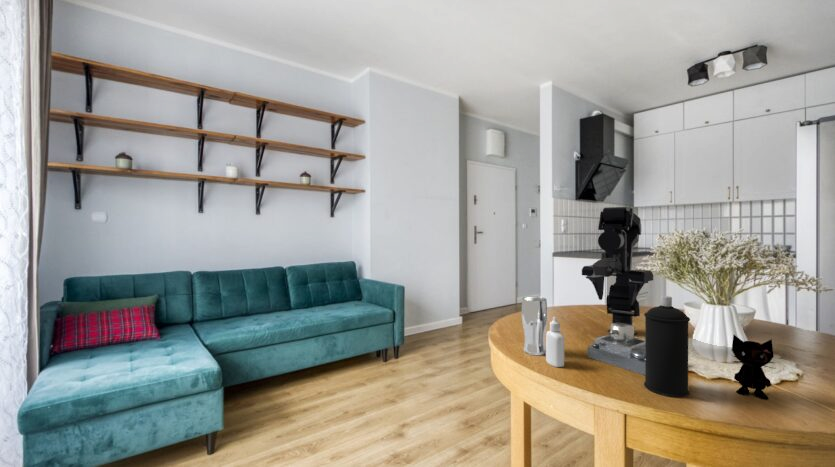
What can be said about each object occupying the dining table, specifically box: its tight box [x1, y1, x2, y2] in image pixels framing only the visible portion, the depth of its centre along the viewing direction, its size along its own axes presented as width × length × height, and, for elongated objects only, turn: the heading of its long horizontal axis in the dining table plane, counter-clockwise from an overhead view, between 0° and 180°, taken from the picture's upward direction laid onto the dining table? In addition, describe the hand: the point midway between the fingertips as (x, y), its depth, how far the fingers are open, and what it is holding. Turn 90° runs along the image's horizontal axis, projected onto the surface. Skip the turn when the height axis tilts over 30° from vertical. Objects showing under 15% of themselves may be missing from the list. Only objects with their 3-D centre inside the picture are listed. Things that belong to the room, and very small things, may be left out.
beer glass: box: [521, 296, 549, 356], centre depth 106 cm, size 7×7×15 cm
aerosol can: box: [643, 295, 691, 398], centre depth 81 cm, size 8×8×20 cm
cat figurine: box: [731, 334, 776, 401], centre depth 78 cm, size 7×7×12 cm
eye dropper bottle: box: [545, 316, 565, 368], centre depth 97 cm, size 4×6×12 cm
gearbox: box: [587, 333, 645, 376], centre depth 98 cm, size 14×16×4 cm
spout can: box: [609, 323, 635, 347], centre depth 100 cm, size 8×6×6 cm
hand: (615, 302), depth 112 cm, fingers open, 9 cm apart
